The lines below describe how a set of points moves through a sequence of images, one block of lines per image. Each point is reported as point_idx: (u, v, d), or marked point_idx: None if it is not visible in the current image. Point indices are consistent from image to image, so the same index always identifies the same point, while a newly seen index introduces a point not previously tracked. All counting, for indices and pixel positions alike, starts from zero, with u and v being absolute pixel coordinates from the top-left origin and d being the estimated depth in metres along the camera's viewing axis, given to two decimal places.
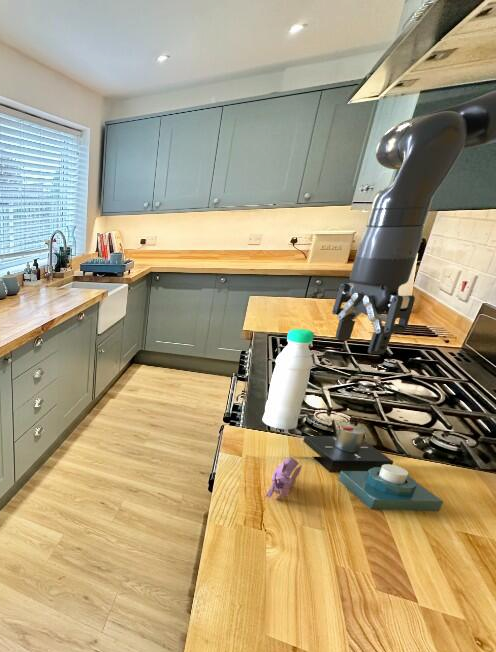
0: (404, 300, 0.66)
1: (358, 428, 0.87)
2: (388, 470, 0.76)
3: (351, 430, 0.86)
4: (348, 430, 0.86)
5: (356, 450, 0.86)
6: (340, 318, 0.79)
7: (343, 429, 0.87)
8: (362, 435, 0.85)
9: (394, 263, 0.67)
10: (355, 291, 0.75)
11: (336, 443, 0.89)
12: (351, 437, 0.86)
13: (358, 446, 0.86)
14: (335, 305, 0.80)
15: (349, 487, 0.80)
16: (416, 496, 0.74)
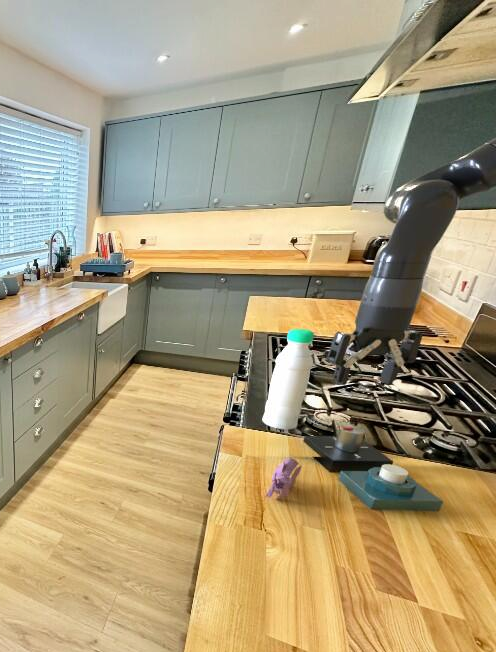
0: (338, 336, 0.79)
1: (358, 428, 0.87)
2: (388, 470, 0.76)
3: (351, 430, 0.86)
4: (348, 430, 0.86)
5: (356, 450, 0.86)
6: None
7: (343, 429, 0.87)
8: (362, 435, 0.85)
9: (361, 306, 0.77)
10: None
11: (336, 443, 0.89)
12: (351, 437, 0.86)
13: (358, 446, 0.86)
14: None
15: (349, 487, 0.80)
16: (416, 496, 0.74)
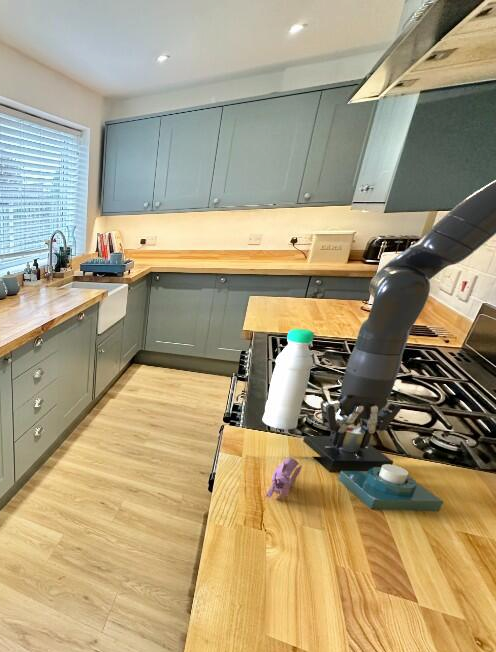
0: (323, 406, 0.86)
1: (358, 428, 0.87)
2: (388, 470, 0.76)
3: (351, 430, 0.86)
4: (348, 430, 0.86)
5: (356, 450, 0.86)
6: None
7: None
8: (362, 435, 0.85)
9: (346, 374, 0.83)
10: None
11: None
12: (351, 437, 0.86)
13: (358, 446, 0.86)
14: None
15: (349, 487, 0.80)
16: (416, 496, 0.74)
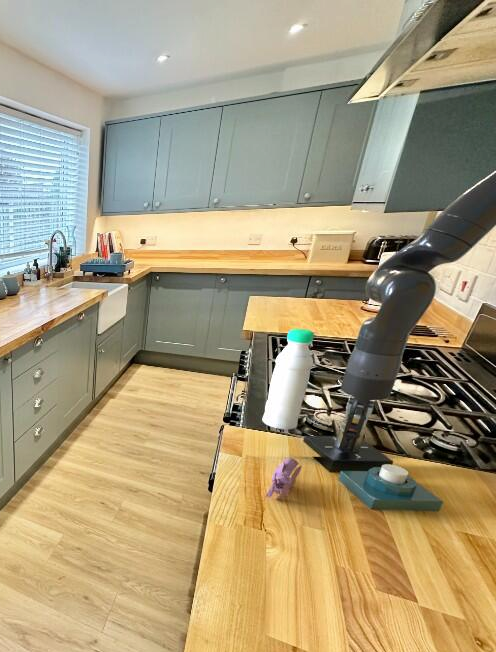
0: (354, 418, 0.81)
1: None
2: (388, 470, 0.76)
3: (356, 431, 0.86)
4: None
5: None
6: None
7: None
8: None
9: (361, 381, 0.80)
10: None
11: None
12: (361, 437, 0.85)
13: None
14: None
15: (349, 487, 0.80)
16: (416, 496, 0.74)
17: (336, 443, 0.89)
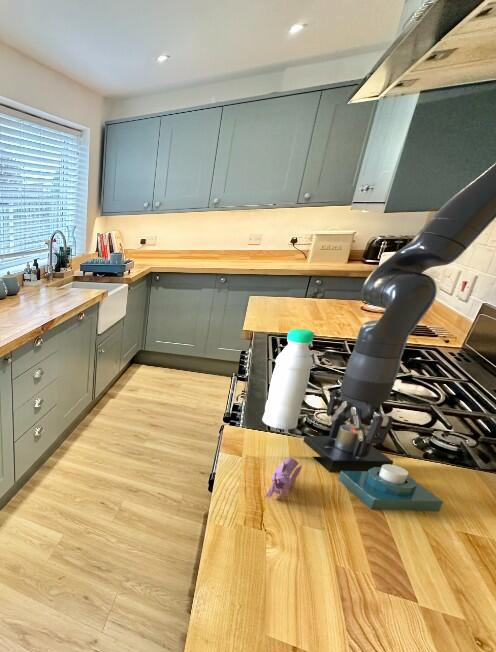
0: (384, 420, 0.78)
1: (346, 426, 0.88)
2: (388, 470, 0.76)
3: None
4: None
5: None
6: (333, 420, 0.90)
7: None
8: None
9: (376, 386, 0.79)
10: (345, 399, 0.87)
11: (352, 449, 0.86)
12: None
13: None
14: (329, 407, 0.92)
15: (349, 487, 0.80)
16: (416, 496, 0.74)
17: (341, 446, 0.87)
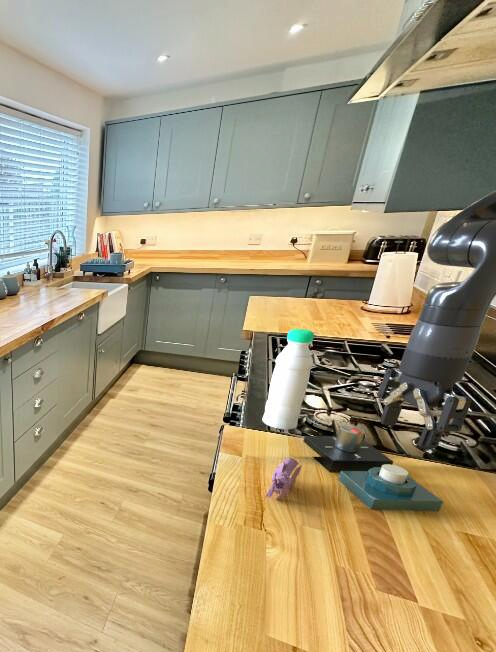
0: (460, 402, 0.64)
1: (346, 426, 0.88)
2: (388, 470, 0.76)
3: (358, 430, 0.86)
4: (360, 431, 0.86)
5: None
6: (386, 404, 0.77)
7: (360, 433, 0.85)
8: None
9: (449, 362, 0.65)
10: (404, 380, 0.73)
11: (352, 449, 0.86)
12: None
13: None
14: (380, 389, 0.78)
15: (349, 487, 0.80)
16: (416, 496, 0.74)
17: (341, 446, 0.87)
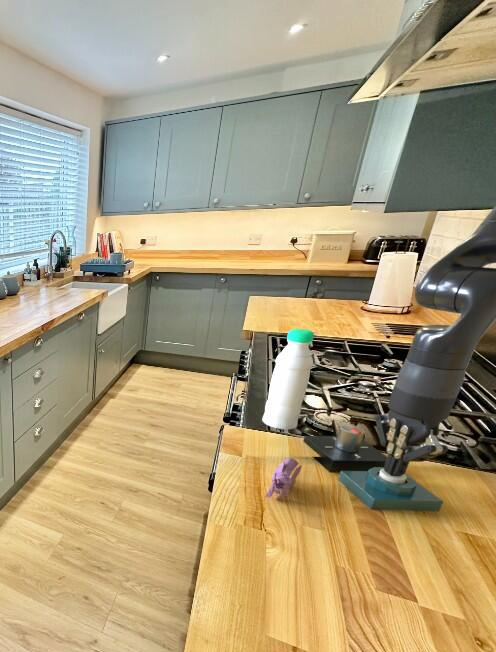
0: (436, 452, 0.68)
1: (346, 426, 0.88)
2: (386, 474, 0.77)
3: (358, 430, 0.86)
4: (360, 431, 0.86)
5: None
6: (390, 452, 0.76)
7: (360, 433, 0.85)
8: None
9: (436, 402, 0.67)
10: (393, 416, 0.75)
11: (352, 449, 0.86)
12: None
13: None
14: (380, 437, 0.78)
15: (349, 487, 0.80)
16: (416, 496, 0.74)
17: (341, 446, 0.87)
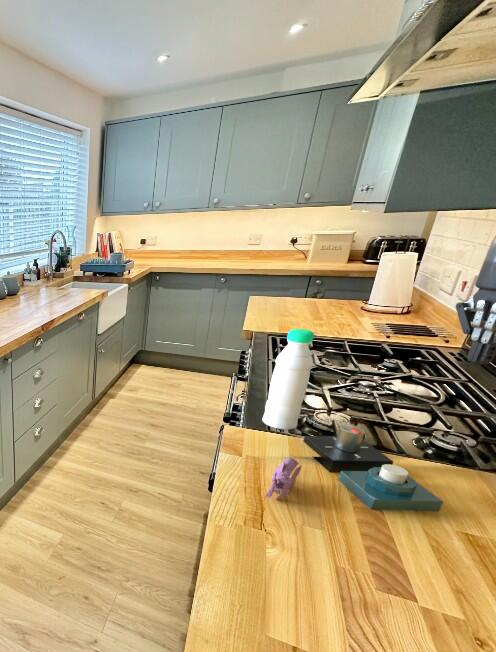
0: None
1: (346, 426, 0.88)
2: (388, 470, 0.76)
3: (358, 430, 0.86)
4: (360, 431, 0.86)
5: None
6: (476, 339, 0.71)
7: (360, 433, 0.85)
8: None
9: None
10: (479, 298, 0.70)
11: (352, 449, 0.86)
12: None
13: None
14: (463, 325, 0.73)
15: (349, 487, 0.80)
16: (416, 496, 0.74)
17: (341, 446, 0.87)
